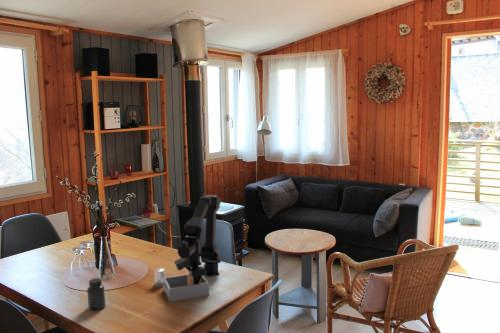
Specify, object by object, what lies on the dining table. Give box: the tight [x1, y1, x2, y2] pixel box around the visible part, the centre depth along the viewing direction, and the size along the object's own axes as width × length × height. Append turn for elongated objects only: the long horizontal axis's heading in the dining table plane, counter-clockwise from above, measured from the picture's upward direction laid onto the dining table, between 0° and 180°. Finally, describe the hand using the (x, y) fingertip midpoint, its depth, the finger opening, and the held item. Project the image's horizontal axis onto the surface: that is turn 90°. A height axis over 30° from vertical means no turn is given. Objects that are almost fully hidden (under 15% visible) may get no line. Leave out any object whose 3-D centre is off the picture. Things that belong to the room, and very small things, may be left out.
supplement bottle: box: [86, 277, 106, 312], centre depth 185 cm, size 7×7×12 cm
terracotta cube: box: [187, 273, 201, 285], centre depth 200 cm, size 5×5×5 cm
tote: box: [162, 273, 210, 303], centre depth 199 cm, size 18×14×6 cm
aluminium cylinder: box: [153, 267, 166, 287], centre depth 208 cm, size 5×5×7 cm
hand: (194, 284), depth 200 cm, fingers closed on terracotta cube, 5 cm apart
